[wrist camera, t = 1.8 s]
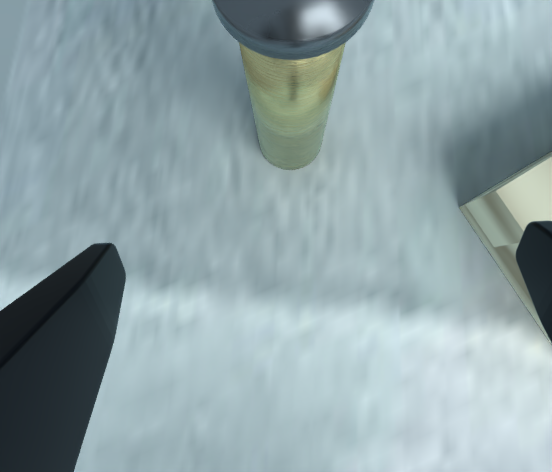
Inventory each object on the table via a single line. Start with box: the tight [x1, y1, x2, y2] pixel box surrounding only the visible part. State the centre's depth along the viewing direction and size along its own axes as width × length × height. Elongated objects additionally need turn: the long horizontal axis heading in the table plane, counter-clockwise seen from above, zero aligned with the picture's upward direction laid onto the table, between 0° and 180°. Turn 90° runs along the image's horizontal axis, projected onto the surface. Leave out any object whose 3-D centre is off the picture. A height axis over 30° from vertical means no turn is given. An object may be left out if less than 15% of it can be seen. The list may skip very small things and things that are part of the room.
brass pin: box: [212, 0, 374, 170], centre depth 17 cm, size 5×5×13 cm
